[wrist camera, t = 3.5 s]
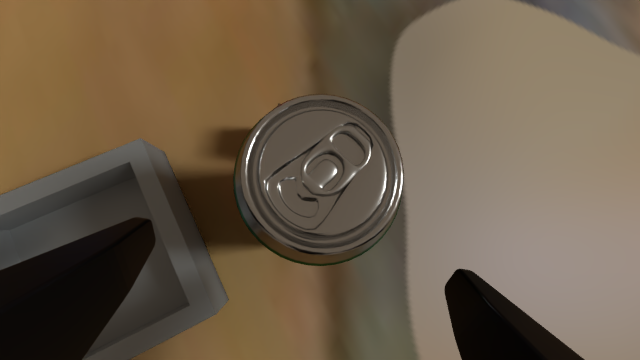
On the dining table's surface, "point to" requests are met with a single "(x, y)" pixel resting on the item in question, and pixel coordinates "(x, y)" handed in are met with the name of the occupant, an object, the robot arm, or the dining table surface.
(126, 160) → the tray
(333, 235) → the soda can
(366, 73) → the dining table surface
